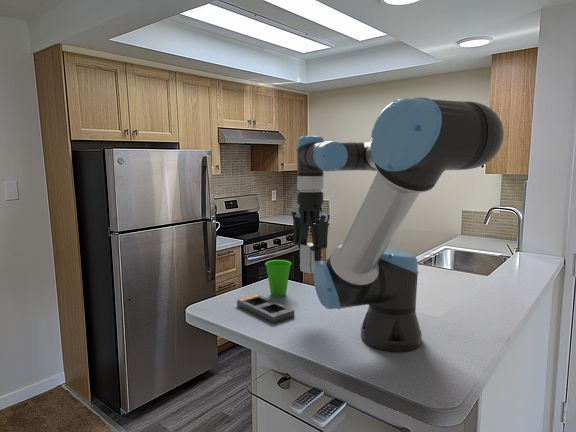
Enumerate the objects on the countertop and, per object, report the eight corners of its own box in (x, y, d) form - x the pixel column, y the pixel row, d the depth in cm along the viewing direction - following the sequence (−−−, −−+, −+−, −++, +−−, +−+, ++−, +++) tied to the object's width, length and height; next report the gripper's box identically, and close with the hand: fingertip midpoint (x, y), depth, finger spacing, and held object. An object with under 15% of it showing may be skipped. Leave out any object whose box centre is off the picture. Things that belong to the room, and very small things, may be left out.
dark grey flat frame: (294, 316, 116) (294, 309, 115) (273, 323, 110) (273, 316, 110) (257, 300, 129) (257, 294, 129) (237, 306, 124) (237, 299, 123)
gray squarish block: (319, 271, 116) (319, 244, 115) (309, 273, 113) (309, 246, 112) (310, 268, 119) (310, 242, 118) (300, 270, 116) (300, 244, 115)
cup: (288, 299, 130) (288, 267, 128) (262, 297, 131) (261, 265, 130) (293, 290, 138) (293, 260, 137) (268, 289, 140) (268, 259, 139)
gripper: (341, 191, 109) (340, 273, 112) (299, 189, 122) (299, 262, 125) (322, 193, 104) (321, 278, 107) (281, 190, 117) (281, 266, 120)
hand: (309, 269), depth 116 cm, fingers closed on gray squarish block, 4 cm apart
